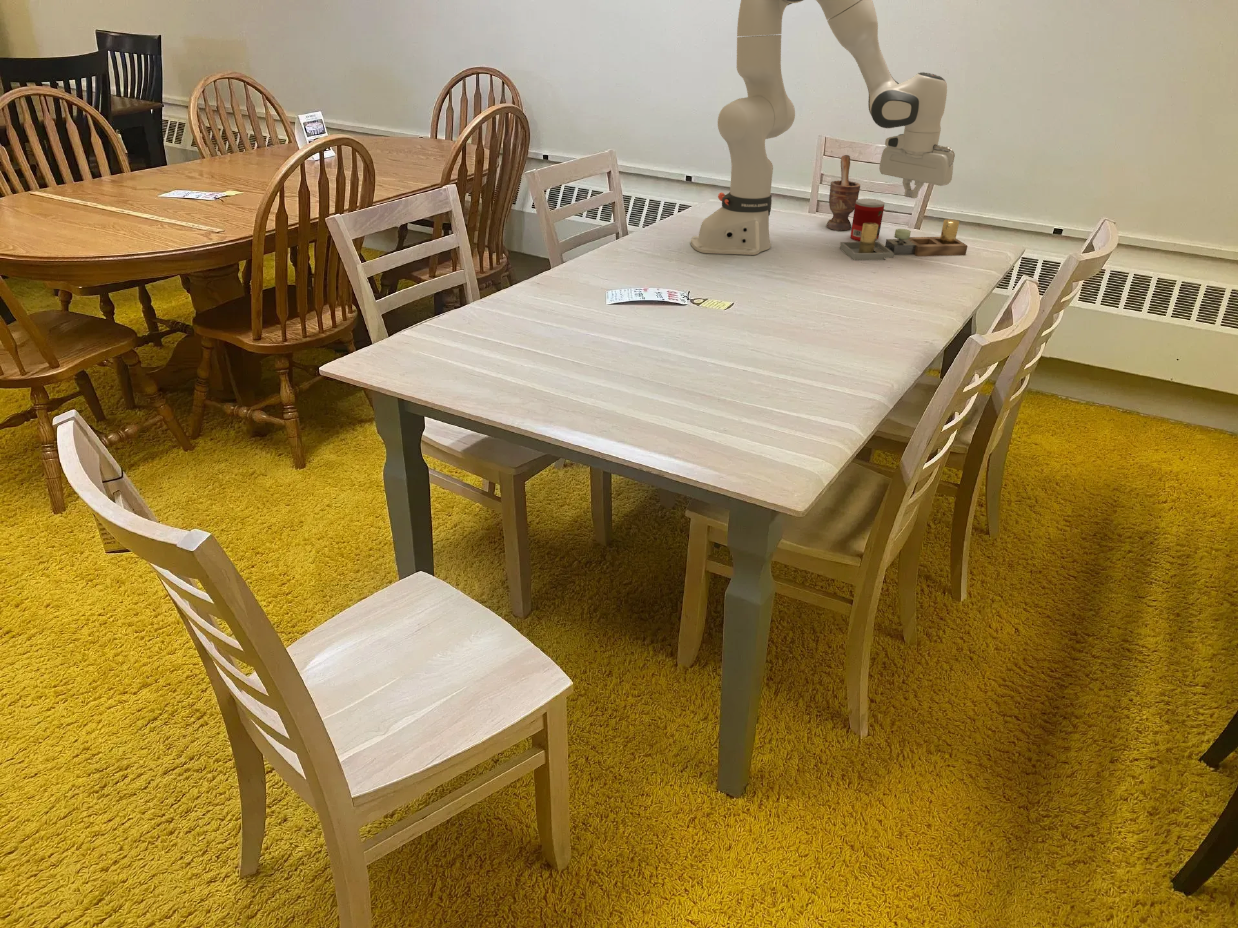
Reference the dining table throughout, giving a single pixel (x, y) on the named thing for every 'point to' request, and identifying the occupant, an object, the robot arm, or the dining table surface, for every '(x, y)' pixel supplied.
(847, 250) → the grey square tray
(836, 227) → the mortar and pestle
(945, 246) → the wooden compartment tray
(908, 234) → the button
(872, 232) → the billet
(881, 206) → the canned food
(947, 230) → the billet seated
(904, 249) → the button housing
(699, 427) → the dining table surface
